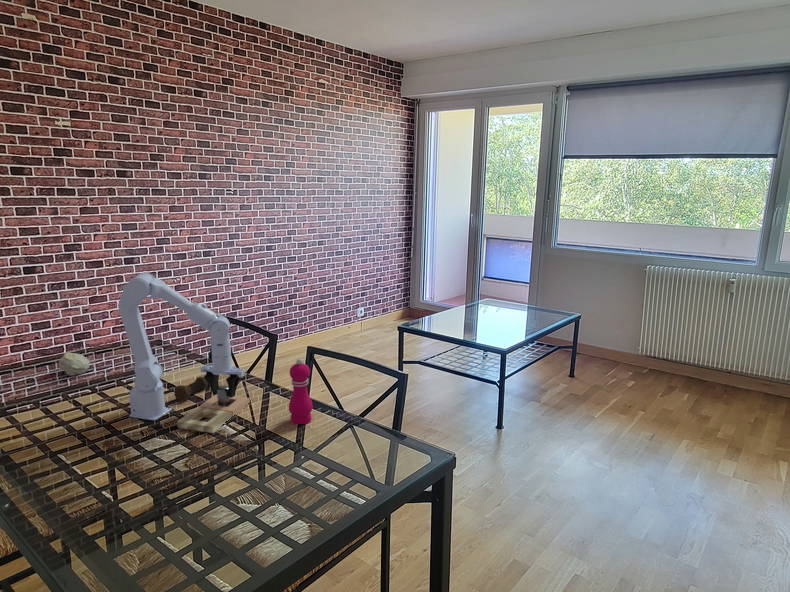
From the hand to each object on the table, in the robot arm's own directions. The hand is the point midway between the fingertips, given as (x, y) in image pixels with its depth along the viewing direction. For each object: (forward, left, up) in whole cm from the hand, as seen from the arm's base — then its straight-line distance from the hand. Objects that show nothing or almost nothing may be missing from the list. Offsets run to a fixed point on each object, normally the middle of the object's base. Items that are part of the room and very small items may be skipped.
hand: (224, 395), depth 165 cm
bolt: (-16, +8, -5) cm, 19 cm away
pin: (0, 0, -4) cm, 4 cm away
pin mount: (0, -10, -4) cm, 11 cm away
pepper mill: (+27, -1, -5) cm, 27 cm away
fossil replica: (-69, +10, -5) cm, 70 cm away
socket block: (0, 0, -4) cm, 4 cm away
